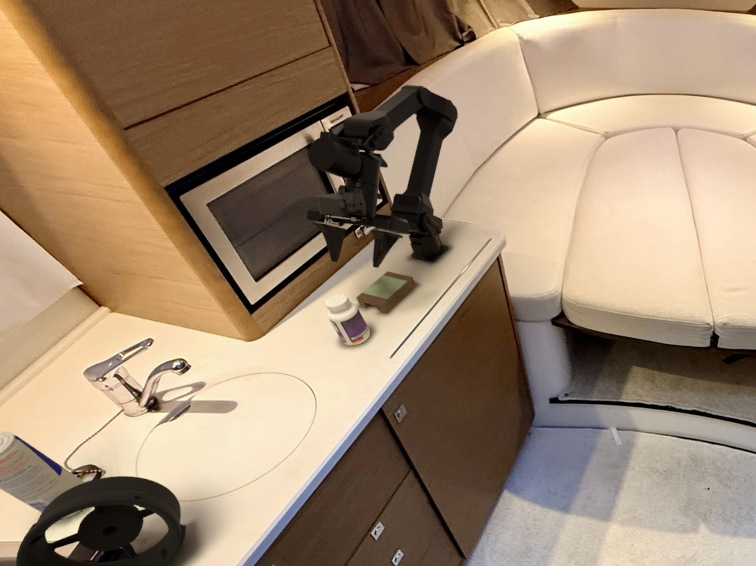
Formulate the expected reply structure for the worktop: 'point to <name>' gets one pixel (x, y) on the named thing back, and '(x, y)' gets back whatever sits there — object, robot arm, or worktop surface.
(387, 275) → the box with green label
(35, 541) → the black wheel
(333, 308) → the pill bottle
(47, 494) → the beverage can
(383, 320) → the worktop surface
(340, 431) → the worktop surface
